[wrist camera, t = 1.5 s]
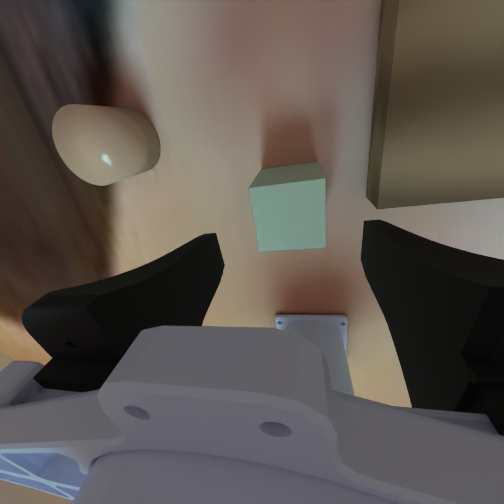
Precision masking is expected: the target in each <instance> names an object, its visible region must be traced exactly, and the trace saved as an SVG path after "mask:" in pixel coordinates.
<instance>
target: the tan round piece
mask: <svg viewBox="0 0 504 504" xmlns="http://www.w3.org/2000/svg"><path fill="white" fill-rule="evenodd" d="M52 134H53V139H54V143H55V146H56V148H57V151H58V153H59V155H60V156H61V158H62V160H63V161H64V163H65V164H66V165H67V166H68V168H69V169H70V170H71V171H72V172H73V173H75V174H76V175H77V176H78V177H80V178H81V179H83V180H84V181H86V182H88V183H91V184H94V185H101V186H102V185H109V184H111V183H114V182H117V181H120V180H123V179H126V178H129V177H131V176H134V175H137V174H140V173H143V172H146V171H148V170H150V169H152V168H153V167H154V166H155V165H156V164H157V162H158V160H159V157H160V150H161V148H160V140H159V137H158V134H157V132H156V130H155V128H154V126H153V125H152V123H151V122H150V121H149V120H148V119H147V117H145V116H144V115H143V114H142V113H140V112H139V111H137V110H135V109H132V108H126V107H111V106H95V105H79V104H70V105H66V106H63V107H62V108H60V109H59V110H58V111H57V113H56V114H55V116H54V119H53V123H52Z"/></svg>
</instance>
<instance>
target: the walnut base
mask: <svg viewBox="0 0 504 504" xmlns="http://www.w3.org/2000/svg"><path fill="white" fill-rule="evenodd" d="M366 197H367V198H368V199H369V200H370V202H371V203H372V204H373V205H374V206H375V207H376V208H377V209H384V208H395V207H406V206H417V205H428V204H439V203H450V202H461V201H471V200H482V199H493V198H504V0H382V3H381V16H380V28H379V41H378V54H377V66H376V79H375V91H374V104H373V117H372V129H371V142H370V154H369V167H368V180H367V192H366Z"/></svg>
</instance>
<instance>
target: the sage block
mask: <svg viewBox="0 0 504 504" xmlns="http://www.w3.org/2000/svg"><path fill="white" fill-rule="evenodd" d="M248 189H249V195H250V201H251V206H252V212H253V218H254V224H255V230H256V236H257V242H258V247H259V252H265V251H282V250H299V249H316V248H326V179H325V176H324V174H323V172H322V170H321V168H320V166H319V164H318V161H317V162H310V163H303V164H296V165H289V166H282V167H275V168H268V169H261V171H260V172H259V174H258V175H257V177H256V178H255V179H254V181H253V182H252V184H251V185H250V187H249V188H248Z"/></svg>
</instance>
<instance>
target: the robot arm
mask: <svg viewBox="0 0 504 504" xmlns="http://www.w3.org/2000/svg"><path fill="white" fill-rule="evenodd" d="M361 261H362V265H363V269H364V272H365V276H366V278H367V280H368V282H369V284H370V287H371V289H372V291H373V293H374V295H375V297H376V299H377V302H378V304H379V306H380V308H381V310H382V312H383V314H384V317H385V319H386V322H387V324H388V327H389V330H390V333H391V336H392V339H393V342H394V345H395V349H396V352H397V355H398V358H399V362H400V365H401V368H402V372H403V375H404V379H405V382H406V386H407V390H408V393H409V397H410V401H411V404H412V408H408V407H397V406H390V405H387V404H383V403H379V402H375V401H372V400H368V399H364V398H361V397H357V396H354V391H353V386H352V381H351V376H350V372H349V367H348V362H347V357H346V346H347V327H348V319H347V316H345V315H276V316H275V323H276V328H268V327H216V326H202V323H203V320H204V317H205V315H206V312H207V310H208V308H209V306H210V303H211V301H212V299H213V297H214V295H215V292H216V290H217V288H218V285H219V283H220V281H221V277H222V274H223V270H224V266H225V265H224V261H223V257H222V254H221V250H220V247H219V243H218V239H217V236H216V233H210V234H203V235H201V236H199V237H197V238H195V239H193V240H191V241H189V242H188V243H186V244H184V245H182V246H181V247H179V248H177V249H175V250H174V251H172V252H170V253H168V254H166V255H164V256H162V257H160V258H158V259H156V260H154V261H152V262H150V263H148V264H145V265H143V266H141V267H138V268H136V269H133V270H130V271H127V272H125V273H122V274H119V275H116V276H113V277H110V278H106V279H103V280H99V281H96V282H92V283H88V284H84V285H80V286H75V287H71V288H66V289H61V290H56V291H52V292H49V293H47V294H45V295H44V296H43V297H41V298H40V299H38V300H37V301H36V302H34V303H33V304H32V305H30V306H29V307H28V308H26V309H25V310H24V311H23V314H22V322H23V325H24V327H25V329H26V330H27V331H28V333H29V334H30V335H31V336H32V337H33V338H34V339H35V340H36V341H37V342H38V343H39V345H40V346H41V347H42V348H43V349H44V350H45V351H46V352H47V353H48V354H49V355H50V356H51V357H53V358H52V359H51V360H50V361H49V362H48V363H47V364H46V365H43V364H41V363H38V362H29V361H12V362H11V363H10V364H9V365H8V366H7V367H5V368H4V369H3V370H2V371H1V372H0V480H4V481H8V482H12V483H15V484H19V485H23V486H26V487H30V488H33V489H37V490H40V491H44V492H47V493H50V494H53V495H57V496H60V497H63V498H67V499H70V500H73V502H72V503H71V504H504V260H502V259H497V258H492V257H488V256H483V255H479V254H475V253H470V252H467V251H463V250H460V249H456V248H453V247H449V246H446V245H443V244H440V243H437V242H434V241H431V240H429V239H426V238H423V237H421V236H418V235H416V234H413V233H411V232H408V231H406V230H404V229H401V228H399V227H397V226H395V225H392V224H390V223H387V222H385V221H382V220H369V221H364V227H363V239H362V251H361ZM278 321H280V322H278ZM342 322H344V323H342Z"/></svg>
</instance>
